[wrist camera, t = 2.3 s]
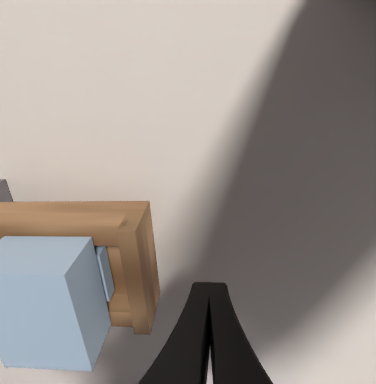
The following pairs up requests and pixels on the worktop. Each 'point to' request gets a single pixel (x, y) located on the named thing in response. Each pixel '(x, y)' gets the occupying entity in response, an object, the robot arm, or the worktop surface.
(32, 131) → the worktop surface
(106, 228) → the wooden tray
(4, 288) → the block
